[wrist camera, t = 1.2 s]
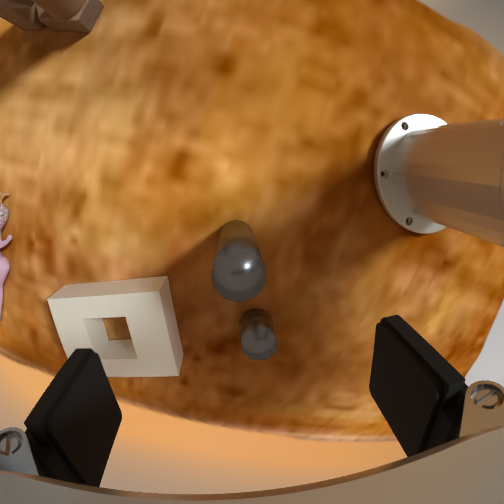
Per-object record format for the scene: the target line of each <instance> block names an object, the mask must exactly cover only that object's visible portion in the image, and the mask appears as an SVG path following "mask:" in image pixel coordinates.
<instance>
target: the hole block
mask: <svg viewBox="0 0 504 504" xmlns="http://www.w3.org/2000/svg"><path fill="white" fill-rule="evenodd" d="M47 300H48V304H49V307H50V310H51V313H52V316H53V319H54V323H55V326H56V328H57V331H58V334H59V337H60V340H61V343H62V345H63V348H64V351H65V353H66V356H67V358H69V357H70V356H71V354H72V353H73V352H74V350H75V349H77V348H91V349H93V351H94V352H96V353H98V355H99V357H100V360H101V362H102V365H103V368H104V370H105V373H106V376H107V377H163V376H179V373H180V369H181V364H182V360H183V355H184V353H183V349H182V344H181V340H180V335H179V331H178V326H177V321H176V316H175V312H174V307H173V302H172V296H171V291H170V286H169V280H168V276H159V277H149V278H138V279H127V280H117V281H106V282H94V283H83V284H72V285H64V286H63V287H62V288H60V289H59V290H58V291H57V292H55V293H54V294H53V295H52V296H51V297H49V298H48V299H47ZM110 317H126V320H127V324H128V328H129V331H130V335H131V338H132V339H126V340H109V339H108V336H107V332H106V329H105V326H104V322H103V319H102V318H110Z"/></svg>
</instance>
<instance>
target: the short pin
mask: <svg viewBox="0 0 504 504" xmlns="http://www.w3.org/2000/svg"><path fill="white" fill-rule="evenodd" d="M240 334H241V348H242V351H243V353H244V354H245V355H246V356H247V357H248V358H250V359H253V360H264V359H267V358H269V357H270V356H272V355H273V354H274V352H275V351H276V348H277V341H276V337H275V333H274V329H273V325H272V322H271V318H270V316H269V314H268V313H267V312H265V311H264V310H261V309H251V310H248V311H247V312H245V313H244V314H243V315H242V317H241V319H240Z"/></svg>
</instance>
